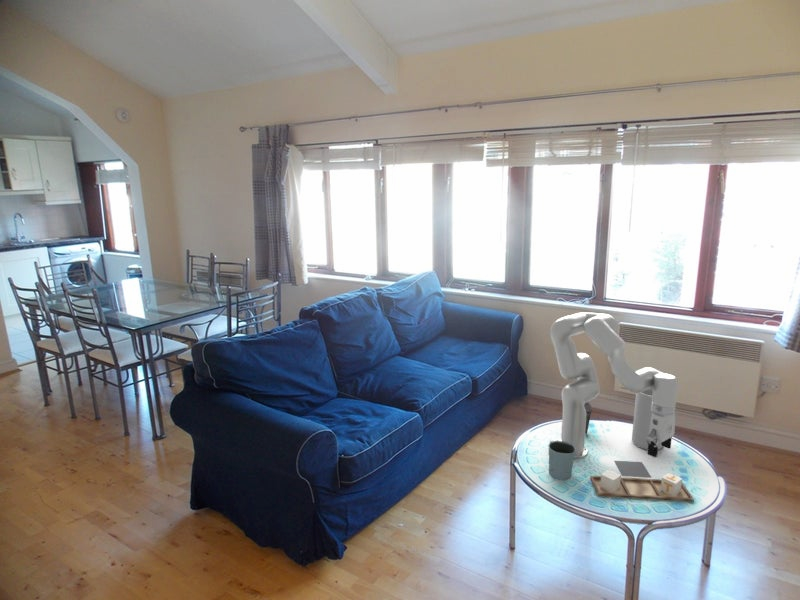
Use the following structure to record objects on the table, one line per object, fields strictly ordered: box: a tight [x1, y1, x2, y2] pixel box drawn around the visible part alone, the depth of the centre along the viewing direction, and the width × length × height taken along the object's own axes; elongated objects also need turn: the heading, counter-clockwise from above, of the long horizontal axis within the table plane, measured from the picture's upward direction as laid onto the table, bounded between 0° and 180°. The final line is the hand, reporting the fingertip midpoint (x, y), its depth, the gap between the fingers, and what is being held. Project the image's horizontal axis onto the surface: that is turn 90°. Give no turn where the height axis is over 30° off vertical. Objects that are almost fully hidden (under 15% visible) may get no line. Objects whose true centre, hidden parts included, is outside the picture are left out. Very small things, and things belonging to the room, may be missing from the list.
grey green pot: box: [548, 440, 576, 481], centre depth 197 cm, size 10×10×12 cm
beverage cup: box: [584, 401, 593, 435], centre depth 229 cm, size 7×7×20 cm
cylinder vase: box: [631, 388, 664, 450], centre depth 217 cm, size 12×12×25 cm
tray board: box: [589, 475, 695, 503], centre depth 187 cm, size 33×12×1 cm, turn 82°
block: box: [600, 469, 622, 493], centre depth 188 cm, size 5×5×6 cm
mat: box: [613, 460, 653, 479], centre depth 201 cm, size 11×11×1 cm
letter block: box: [660, 472, 683, 497], centre depth 185 cm, size 5×5×6 cm
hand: (659, 451), depth 182 cm, fingers open, 9 cm apart
